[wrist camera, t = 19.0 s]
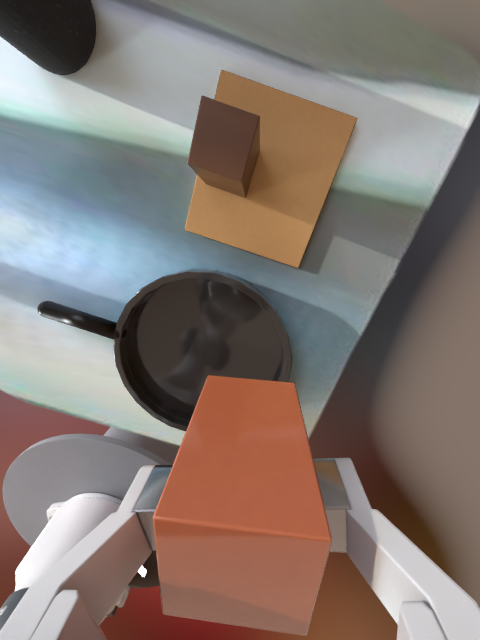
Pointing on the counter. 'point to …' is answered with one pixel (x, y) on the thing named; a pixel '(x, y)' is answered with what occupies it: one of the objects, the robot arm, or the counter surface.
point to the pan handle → (79, 319)
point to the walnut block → (225, 146)
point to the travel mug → (50, 31)
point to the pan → (196, 340)
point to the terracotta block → (243, 512)
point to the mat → (275, 174)
